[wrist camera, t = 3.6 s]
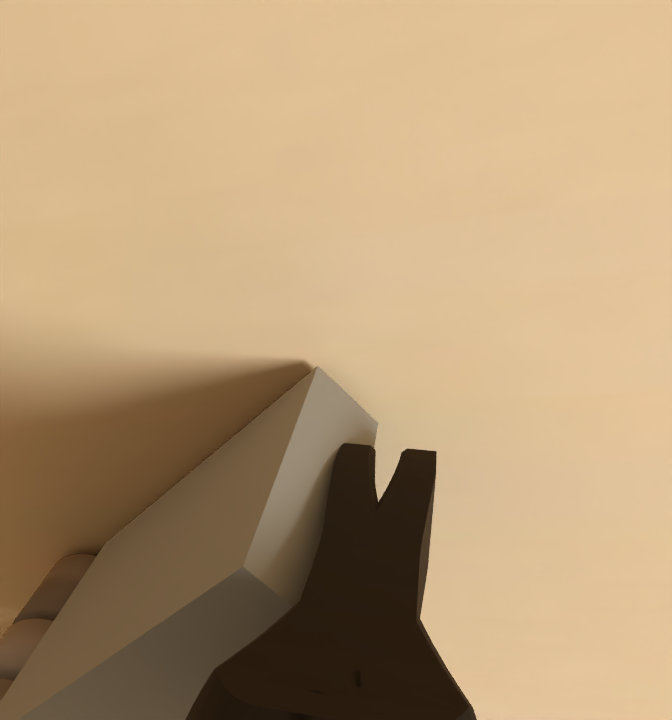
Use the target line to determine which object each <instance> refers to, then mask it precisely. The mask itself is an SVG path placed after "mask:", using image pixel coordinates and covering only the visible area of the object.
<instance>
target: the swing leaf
mask: <svg viewBox="0 0 672 720" xmlns="http://www.w3.org/2000/svg"><path fill="white" fill-rule="evenodd" d="M377 426H378V422H376V421H375V420H374V419H373V418H372V417H371V416H370V415H369V414H368V413H367V412H366V411H365V410H364V409H363V408H362V407H361V406H360V405H359V404H358V403H356V402H355V401H354V400H353V399H352V398H351V397H350V396H349V395H348V394H347V393H346V392H345V391H344V390H343V389H342V388H341V387H340V386H339V385H338V384H336V383H335V382H334V381H333V380H332V379H331V378H330V377H329V376H328V375H327V374H326V373H325V372H324V371H323V370H322V369H321V368H320V367H319V366H317V367H316V368H315V369H314V370H312V371H311V372H310V373H309V374H308V375H306V376H305V377H304V378H303V379H302V380H300V381H299V382H298V383H297V384H296V385H294V386H293V387H292V388H291V389H290V390H288V391H287V392H286V393H285V394H284V395H282V396H281V397H280V398H279V399H278V400H276V401H275V402H274V403H273V404H272V405H270V406H269V407H268V408H267V409H266V410H264V411H263V412H262V413H261V414H260V415H258V416H257V417H256V418H255V419H254V420H252V421H251V422H250V423H249V424H248V425H246V426H245V427H244V428H243V429H242V430H240V431H239V432H238V433H237V434H236V435H234V436H233V437H232V438H231V439H230V440H228V441H227V442H226V443H225V444H224V445H222V446H221V447H220V448H219V449H218V450H216V451H215V452H214V453H213V454H212V455H210V456H209V457H208V458H207V459H206V460H204V461H203V462H202V463H201V464H200V465H198V466H197V467H196V468H195V469H194V470H192V471H191V472H190V473H189V474H188V475H186V476H185V477H184V478H183V479H182V480H180V481H179V482H178V483H177V484H176V485H174V486H173V487H172V488H171V489H170V490H168V491H167V492H166V493H165V494H164V495H162V496H161V497H160V498H159V499H158V500H156V501H155V502H154V503H153V504H152V505H150V506H149V507H148V508H147V509H146V510H144V511H143V512H142V513H141V514H140V515H138V516H137V517H136V518H135V519H134V520H132V521H131V522H130V523H129V524H128V525H126V526H125V527H124V528H123V529H122V530H120V531H119V532H118V533H117V534H116V535H114V536H113V537H112V538H111V539H110V540H108V541H107V542H106V543H105V544H104V546H103V547H102V549H101V550H100V552H99V553H98V555H97V556H96V558H95V559H94V561H93V562H92V564H91V565H90V567H89V568H88V570H87V571H86V573H85V574H84V576H83V577H82V579H81V581H80V582H79V584H78V585H77V587H76V588H75V590H74V591H73V593H72V594H71V596H70V597H69V599H68V600H67V602H66V603H65V605H64V606H63V608H62V609H61V611H60V612H59V614H58V615H57V617H56V618H55V620H54V621H51V620H45V619H25V620H22V621H19V622H16V623H15V624H13V625H12V626H11V627H10V628H9V629H8V630H7V631H6V633H5V634H4V636H3V637H2V638H1V640H0V678H1V679H7V680H12V681H14V682H13V683H12V685H11V686H10V688H9V689H8V691H7V692H6V694H5V695H4V697H3V698H2V700H1V701H0V720H185V719H186V717H187V715H188V713H189V711H190V709H191V707H192V705H193V703H194V702H195V700H196V698H197V696H198V694H199V693H200V691H201V689H202V688H203V686H204V684H205V683H206V681H207V679H208V678H209V676H210V675H211V673H212V672H213V670H214V669H215V668H216V667H217V666H219V665H220V664H222V663H223V662H224V661H226V660H227V659H229V658H230V657H231V656H233V655H234V654H235V653H237V652H238V651H240V650H241V649H242V648H244V647H245V646H246V645H248V644H249V643H251V642H252V641H253V640H255V639H256V638H257V637H258V636H260V635H261V634H262V633H263V632H265V631H266V630H267V629H268V628H269V627H270V626H272V625H273V624H274V623H275V622H276V621H277V620H278V619H280V618H281V617H282V616H283V615H284V614H285V613H287V612H288V611H289V610H290V609H291V608H292V607H293V606H295V605H296V604H297V603H298V602H299V601H300V599H301V596H302V593H303V590H304V588H305V585H306V582H307V579H308V577H309V574H310V571H311V568H312V565H313V562H314V559H315V556H316V553H317V550H318V547H319V543H320V539H321V535H322V530H323V525H324V519H325V513H326V507H327V500H328V494H329V488H330V482H331V476H332V470H333V464H334V461H335V458H336V455H337V453H338V451H339V448H340V446H341V445H342V444H344V443H352V444H362V445H371V446H372V447H373V448H374V445H375V438H376V432H377Z"/></svg>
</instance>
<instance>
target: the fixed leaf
mask: <svg viewBox="0 0 672 720" xmlns="http://www.w3.org/2000/svg"><path fill="white" fill-rule="evenodd" d="M95 558H96V556H95V555H89V554H74V555H69V556H67V557H64V558H62V559H61V560H59V561H58V562H57V563H56V564H55V566H54V567H53V568H52V570H51V571H50V573H49V574H48V575H47V577H46V578H45V579H44V581H43V582H42V583H41V585H40V586H39V588H38V589H37V590H36V592H35V593H34V594H33V596H32V597H31V599H30V600H29V601H28V603H27V604H26V605H25V607H24V608H23V610H22V611H21V612H20V614H19V615H18V616H17V618H16V619H15V621H14V622H13V624H15V623H16V622H19V621H22V620H25V619H45V620H51V621H54V620H55V618H56V617H57V615H58V614H59V612H60V611H61V609H62V608H63V606H64V605H65V603H66V602H67V600H68V599H69V597H70V596H71V594H72V593H73V591H74V590H75V588H76V587H77V585H78V584H79V582H80V581H81V579H82V577H83V576H84V574H85V573H86V571H87V570H88V568H89V567H90V565H91V564H92V562H93V561H94V559H95ZM13 682H14V681H12V680H7V679H1V678H0V701H1V700H2V698H3V697H4V695H5V694H6V692H7V691H8V689H9V688H10V686H11V685H12V683H13Z"/></svg>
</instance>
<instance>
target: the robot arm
mask: <svg viewBox="0 0 672 720" xmlns="http://www.w3.org/2000/svg"><path fill="white" fill-rule="evenodd" d="M435 478H436V451H427V450H416V449H406V450H405V451H403V452H402V453H401V457H400V460H399V463H398V466H397V468H396V470H395V473H394V475H393V477H392V479H391V481H390V483H389V485H388V487H387V489H386V491H385V492H384V494H383V496H382V497H381V499H380V501H379V502H378V499H377V494H376V488H375V449H374V448H373V447H372V446H371V445H362V444H352V443H344V444H342V445H341V446H340V448H339V451H338V453H337V455H336V458H335V461H334V464H333V470H332V476H331V482H330V488H329V494H328V500H327V507H326V513H325V519H324V525H323V530H322V535H321V539H320V543H319V547H318V550H317V553H316V556H315V559H314V562H313V565H312V568H311V571H310V574H309V577H308V579H307V582H306V585H305V588H304V590H303V593H302V596H301V599H300V601H299V602H298V603H297V604H296V605H295V606H293V607H292V608H291V609H290V610H289V611H288V612H287V613H285V614H284V615H283V616H282V617H281V618H280V619H278V620H277V621H276V622H275V623H274V624H273V625H272V626H270V627H269V628H268V629H267V630H266V631H265V632H263V633H262V634H261V635H260V636H258V637H257V638H256V639H255V640H253V641H252V642H251V643H249V644H248V645H246V646H245V647H244V648H242V649H241V650H240V651H238V652H237V653H235V654H234V655H233V656H231V657H230V658H229V659H227V660H226V661H224V662H223V663H222V664H220V665H219V666H217V667H216V668H215V669H214V670H213V672H212V673H211V675H210V676H209V678H208V679H207V681H206V683H205V684H204V686H203V688H202V689H201V691H200V693H199V694H198V696H197V698H196V700H195V702H194V703H193V705H192V707H191V709H190V711H189V713H188V715H187V717H186V719H185V720H477V719H476V716H475V713H474V710H473V707H472V706H471V704H470V703H469V701H468V700H467V698H466V697H465V695H464V694H463V692H462V691H461V689H460V688H459V686H458V685H457V683H456V682H455V680H454V678H453V677H452V675H451V674H450V672H449V671H448V669H447V667H446V666H445V664H444V662H443V660H442V659H441V657H440V655H439V654H438V652H437V650H436V648H435V647H434V645H433V643H432V641H431V639H430V637H429V635H428V634H427V632H426V630H425V628H424V626H423V624H422V622H421V620H420V614H421V608H422V601H423V595H424V589H425V582H426V576H427V569H428V558H429V547H430V535H431V524H432V513H433V501H434V490H435Z"/></svg>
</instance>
